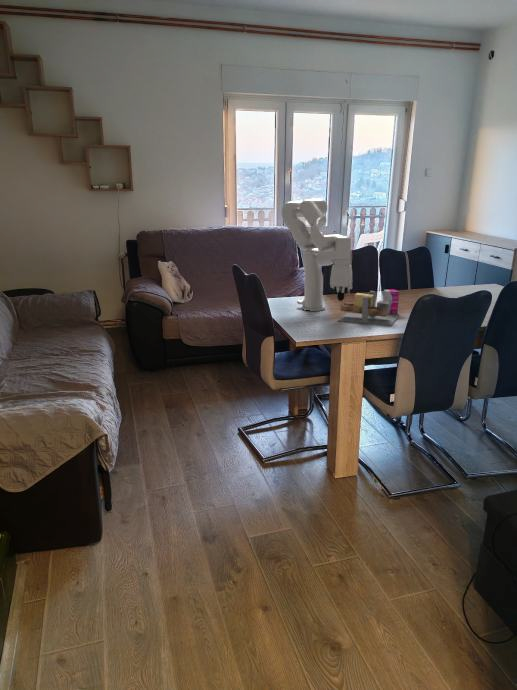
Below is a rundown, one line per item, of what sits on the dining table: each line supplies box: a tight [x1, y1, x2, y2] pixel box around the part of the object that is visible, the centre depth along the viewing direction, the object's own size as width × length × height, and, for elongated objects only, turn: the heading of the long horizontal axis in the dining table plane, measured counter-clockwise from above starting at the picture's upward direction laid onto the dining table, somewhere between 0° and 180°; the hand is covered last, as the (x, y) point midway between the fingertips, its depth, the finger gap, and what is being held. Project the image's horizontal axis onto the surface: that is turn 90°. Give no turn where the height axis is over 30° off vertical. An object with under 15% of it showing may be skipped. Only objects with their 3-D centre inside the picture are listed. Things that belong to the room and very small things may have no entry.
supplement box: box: [382, 289, 400, 315], centre depth 258 cm, size 6×6×12 cm
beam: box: [340, 300, 390, 317], centre depth 246 cm, size 22×6×8 cm, turn 65°
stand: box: [337, 290, 398, 327], centre depth 245 cm, size 25×17×13 cm
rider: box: [353, 292, 374, 309], centre depth 245 cm, size 8×4×7 cm, turn 65°
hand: (340, 300), depth 250 cm, fingers closed
